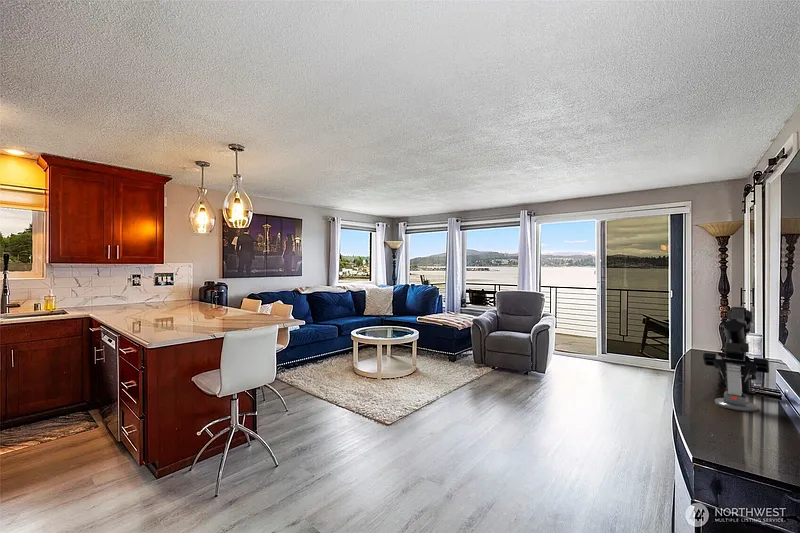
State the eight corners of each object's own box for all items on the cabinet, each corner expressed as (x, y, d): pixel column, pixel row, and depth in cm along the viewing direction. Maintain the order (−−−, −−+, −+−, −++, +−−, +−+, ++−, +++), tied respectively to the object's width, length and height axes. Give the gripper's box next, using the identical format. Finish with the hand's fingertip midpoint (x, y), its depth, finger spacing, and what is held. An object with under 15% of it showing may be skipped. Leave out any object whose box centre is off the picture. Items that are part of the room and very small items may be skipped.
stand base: (717, 399, 147) (716, 387, 147) (758, 406, 138) (758, 394, 138) (712, 406, 138) (712, 394, 139) (756, 414, 130) (756, 401, 130)
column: (729, 392, 141) (727, 362, 141) (742, 394, 138) (740, 364, 139) (727, 394, 138) (726, 364, 139) (741, 396, 136) (739, 366, 136)
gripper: (702, 332, 149) (699, 363, 141) (767, 337, 135) (767, 372, 127) (706, 349, 154) (703, 380, 146) (769, 355, 140) (769, 390, 132)
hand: (734, 380), depth 138 cm, fingers open, 5 cm apart
